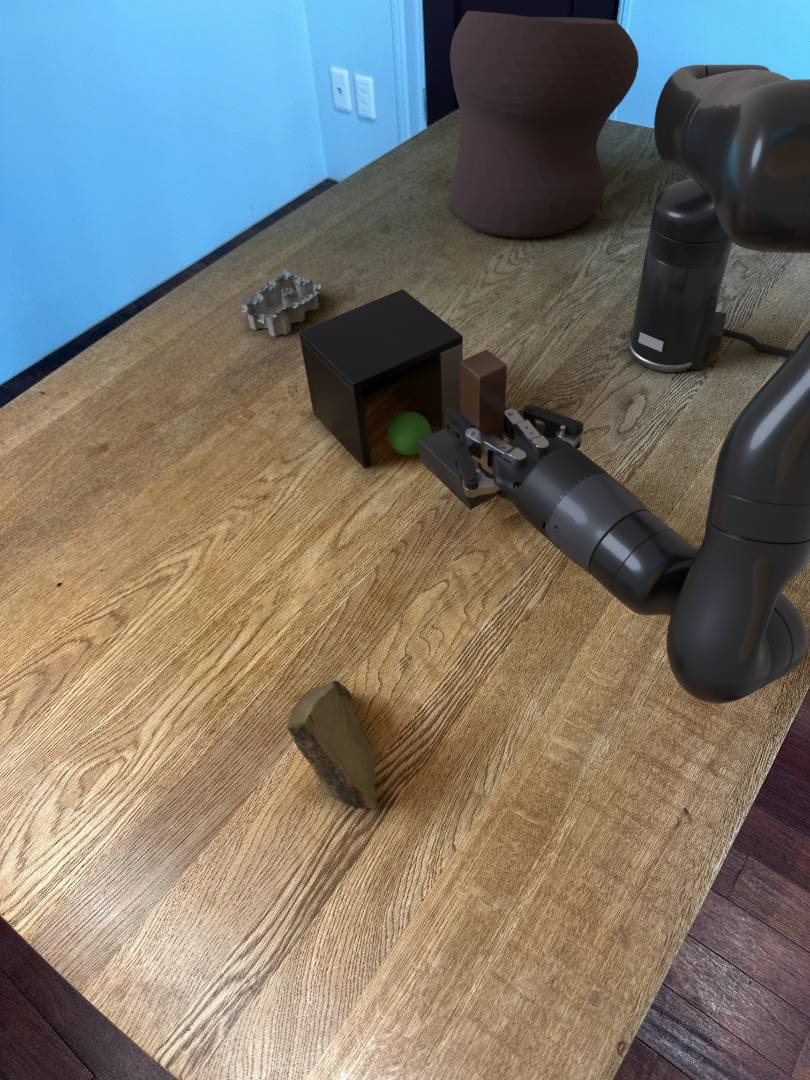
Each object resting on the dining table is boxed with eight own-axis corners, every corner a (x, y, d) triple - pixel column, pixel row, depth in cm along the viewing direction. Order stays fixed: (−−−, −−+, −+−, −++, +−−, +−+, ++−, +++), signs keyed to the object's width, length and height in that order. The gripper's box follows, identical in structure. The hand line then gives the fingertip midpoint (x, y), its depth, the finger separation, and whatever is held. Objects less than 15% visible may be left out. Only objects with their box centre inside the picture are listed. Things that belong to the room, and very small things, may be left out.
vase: (629, 240, 123) (667, 13, 100) (451, 248, 124) (448, 25, 102) (603, 161, 140) (630, -47, 118) (447, 169, 142) (444, -36, 119)
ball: (437, 439, 95) (436, 406, 92) (423, 468, 92) (421, 434, 89) (397, 432, 97) (394, 399, 93) (382, 459, 94) (379, 426, 90)
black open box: (463, 420, 98) (462, 335, 88) (364, 468, 93) (353, 384, 84) (408, 371, 104) (402, 288, 95) (313, 414, 100) (298, 331, 91)
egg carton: (280, 341, 110) (274, 316, 107) (239, 325, 114) (233, 300, 110) (328, 303, 116) (324, 277, 113) (288, 288, 119) (284, 263, 116)
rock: (298, 663, 73) (245, 753, 66) (347, 626, 67) (294, 720, 60) (389, 733, 75) (347, 827, 68) (444, 703, 69) (404, 802, 62)
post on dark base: (509, 489, 84) (516, 360, 72) (469, 510, 82) (470, 382, 70) (457, 442, 89) (456, 315, 77) (420, 461, 87) (412, 334, 75)
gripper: (652, 445, 68) (522, 349, 78) (521, 517, 64) (400, 405, 74) (638, 507, 74) (518, 410, 84) (516, 577, 69) (405, 466, 79)
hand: (464, 408), depth 79 cm, fingers closed on post on dark base, 3 cm apart
